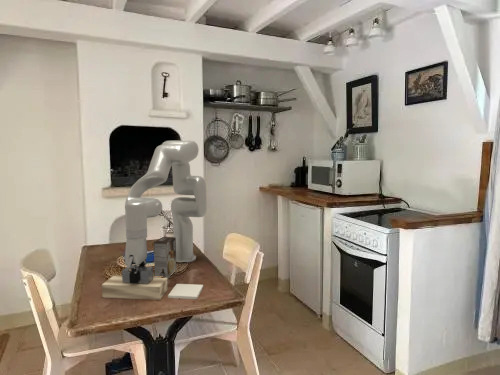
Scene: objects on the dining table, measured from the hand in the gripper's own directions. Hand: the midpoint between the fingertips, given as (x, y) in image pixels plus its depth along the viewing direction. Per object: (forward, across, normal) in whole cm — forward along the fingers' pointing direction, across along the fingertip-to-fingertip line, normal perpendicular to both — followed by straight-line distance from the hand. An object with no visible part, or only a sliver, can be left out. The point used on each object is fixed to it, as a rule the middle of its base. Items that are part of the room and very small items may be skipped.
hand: (138, 279), depth 129 cm
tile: (+6, -3, +18) cm, 19 cm away
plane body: (+6, 0, -1) cm, 6 cm away
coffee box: (+6, -20, +4) cm, 21 cm away
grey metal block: (+1, 0, 0) cm, 1 cm away
